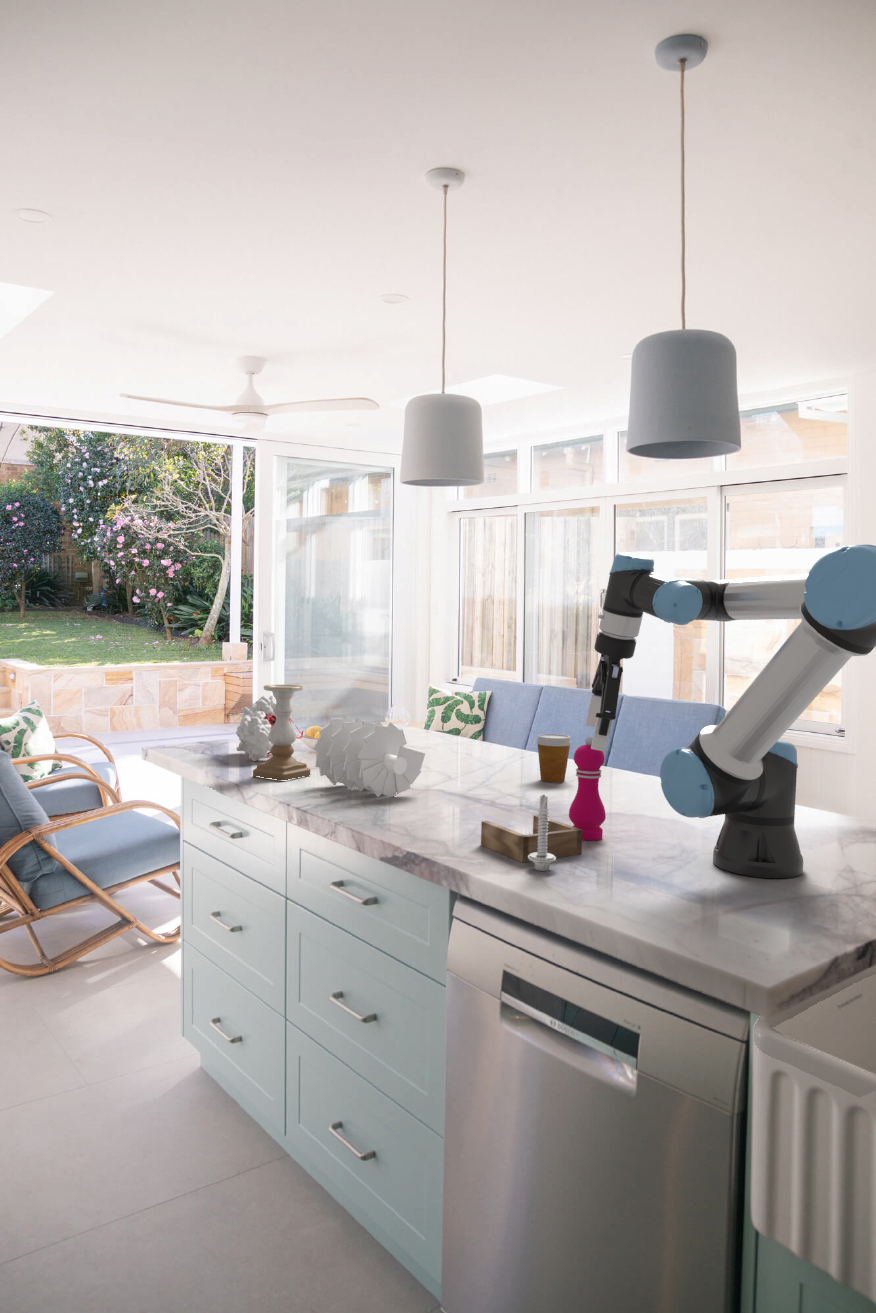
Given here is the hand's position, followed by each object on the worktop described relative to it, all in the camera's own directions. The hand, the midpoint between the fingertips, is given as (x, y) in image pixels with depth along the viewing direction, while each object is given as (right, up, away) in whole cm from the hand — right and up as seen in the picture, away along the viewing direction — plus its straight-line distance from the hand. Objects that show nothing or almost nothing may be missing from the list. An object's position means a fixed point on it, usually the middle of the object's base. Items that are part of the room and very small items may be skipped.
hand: (594, 737), depth 175 cm
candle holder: (-72, -16, +59) cm, 94 cm away
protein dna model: (-82, -14, +90) cm, 123 cm away
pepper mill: (-1, -20, +2) cm, 20 cm away
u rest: (-14, -20, -9) cm, 26 cm away
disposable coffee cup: (0, -17, +63) cm, 65 cm away
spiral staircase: (-49, -17, +42) cm, 67 cm away
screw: (-13, -21, -22) cm, 33 cm away
